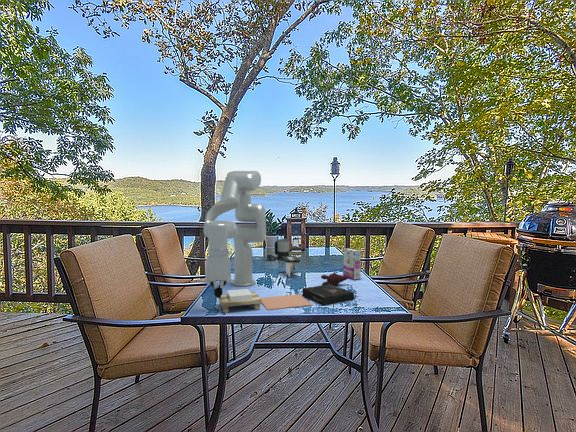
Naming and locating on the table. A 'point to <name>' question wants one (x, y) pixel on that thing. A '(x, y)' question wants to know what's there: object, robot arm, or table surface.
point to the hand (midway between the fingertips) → (218, 297)
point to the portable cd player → (327, 294)
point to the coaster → (239, 295)
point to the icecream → (333, 279)
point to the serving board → (239, 302)
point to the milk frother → (280, 249)
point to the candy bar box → (352, 263)
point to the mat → (284, 302)
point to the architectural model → (290, 263)
